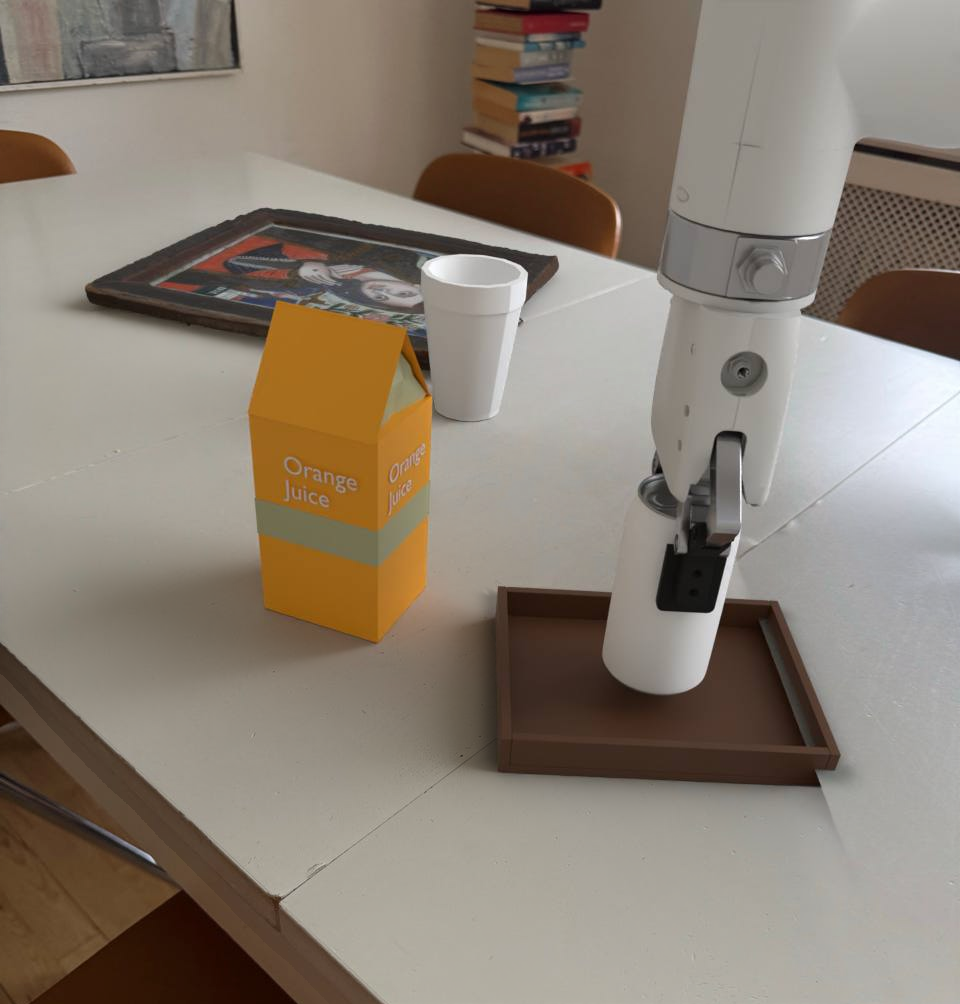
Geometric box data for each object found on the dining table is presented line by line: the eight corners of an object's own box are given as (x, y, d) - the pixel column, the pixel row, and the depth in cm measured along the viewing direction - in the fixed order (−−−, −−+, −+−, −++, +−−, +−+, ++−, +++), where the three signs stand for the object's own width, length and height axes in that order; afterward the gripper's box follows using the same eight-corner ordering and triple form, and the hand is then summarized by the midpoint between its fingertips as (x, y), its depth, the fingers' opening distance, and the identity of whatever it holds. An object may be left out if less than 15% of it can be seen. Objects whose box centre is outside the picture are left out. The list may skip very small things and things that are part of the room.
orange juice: (319, 554, 74) (308, 282, 62) (427, 586, 72) (437, 308, 60) (262, 609, 68) (237, 319, 56) (377, 645, 66) (377, 351, 54)
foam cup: (457, 379, 102) (464, 248, 94) (533, 405, 98) (547, 270, 90) (398, 408, 95) (400, 269, 87) (477, 437, 91) (486, 295, 84)
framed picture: (466, 387, 100) (468, 357, 98) (83, 312, 110) (78, 284, 108) (568, 276, 131) (570, 252, 129) (261, 225, 141) (259, 202, 139)
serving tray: (768, 630, 70) (777, 600, 68) (828, 787, 58) (841, 754, 56) (495, 616, 69) (497, 585, 68) (497, 772, 57) (501, 738, 56)
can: (591, 635, 64) (618, 467, 57) (689, 633, 65) (727, 467, 58) (613, 701, 59) (645, 525, 52) (718, 698, 60) (764, 525, 53)
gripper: (877, 325, 40) (772, 670, 51) (776, 212, 54) (710, 502, 65) (693, 314, 40) (626, 662, 51) (639, 203, 54) (596, 496, 65)
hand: (674, 570), depth 58 cm, fingers closed on can, 6 cm apart
